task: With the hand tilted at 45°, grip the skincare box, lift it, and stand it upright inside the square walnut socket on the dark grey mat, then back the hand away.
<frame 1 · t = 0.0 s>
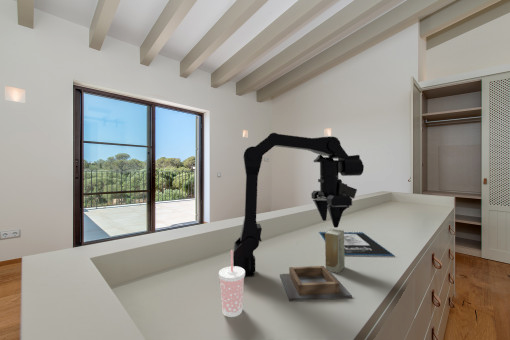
hand: (329, 223, 73), 15 cm above the table, tool pointing down, fingers open, 9 cm apart
skincare box: (335, 269, 73), on the table
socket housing: (312, 285, 62), on the table
sketchbook: (350, 244, 98), on the table
beverage cup: (232, 311, 52), on the table
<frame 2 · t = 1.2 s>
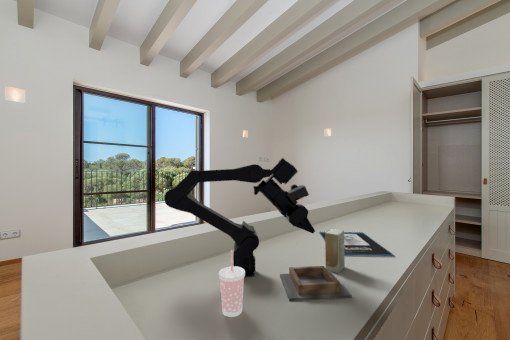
hand: (309, 228, 73), 13 cm above the table, tool tilted 45°, fingers open, 9 cm apart
nothing on the table moved.
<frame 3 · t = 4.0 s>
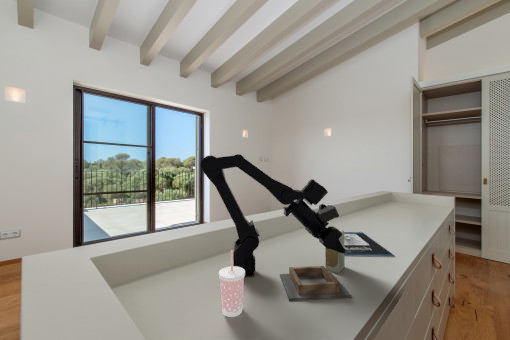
hand: (339, 248, 73), 7 cm above the table, tool tilted 45°, fingers closed on skincare box, 7 cm apart
skincare box: (335, 269, 73), on the table, touching gripper
everything else where it was.
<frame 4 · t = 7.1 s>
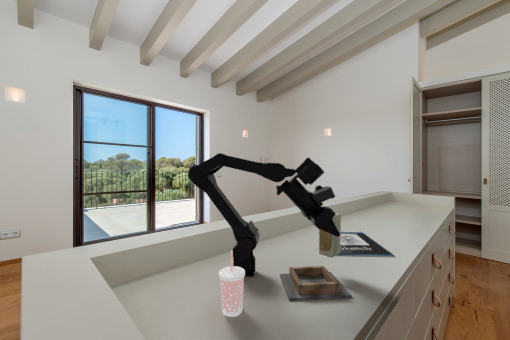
hand: (334, 232, 69), 13 cm above the table, tool tilted 45°, fingers closed on skincare box, 7 cm apart
skincare box: (329, 254, 69), point 6 cm above the table, touching gripper
everything else where it was.
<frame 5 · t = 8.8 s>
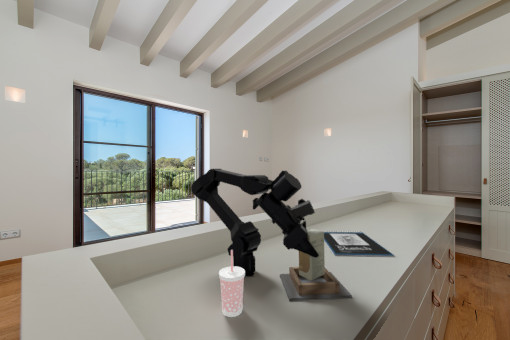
hand: (316, 251, 62), 10 cm above the table, tool tilted 45°, fingers closed on skincare box, 7 cm apart
skincare box: (311, 275, 62), point 3 cm above the table, touching gripper
everything else where it was.
when the fingers open (8 cm above the table, at t = 10.1 s): skincare box stays where it is, resting on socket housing.
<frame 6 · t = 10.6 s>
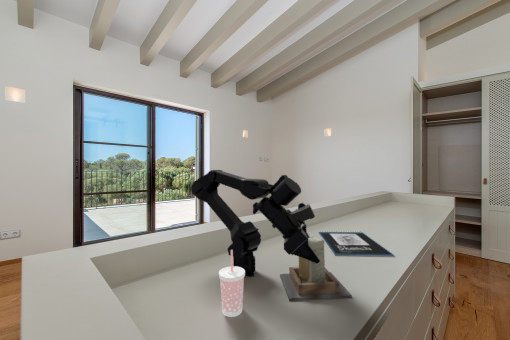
hand: (317, 255, 62), 9 cm above the table, tool tilted 45°, fingers open, 9 cm apart
skincare box: (311, 284, 62), resting on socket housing
everything else where it was.
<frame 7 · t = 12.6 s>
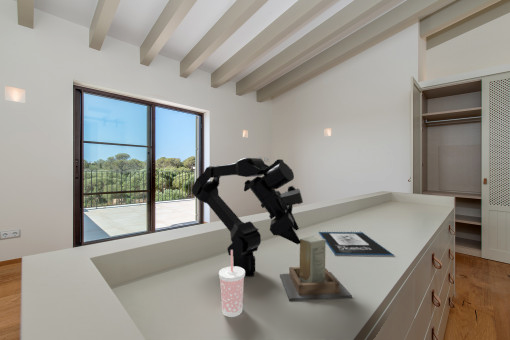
hand: (298, 235, 67), 13 cm above the table, tool tilted 35°, fingers open, 9 cm apart
skincare box: (311, 283, 62), point 1 cm above the table, touching gripper, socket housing
everything else where it was.
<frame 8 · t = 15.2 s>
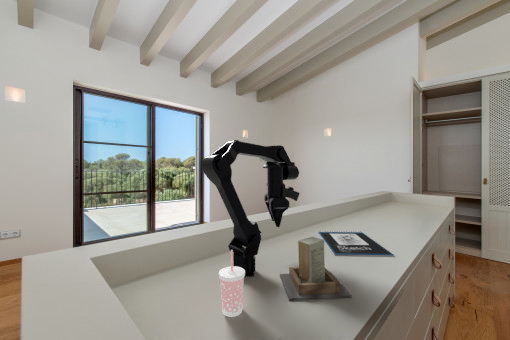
hand: (275, 223, 81), 13 cm above the table, tool pointing down, fingers open, 9 cm apart
skincare box: (311, 284, 62), resting on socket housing
everything else where it was.
at the end: skincare box 0.1 cm off-centre on the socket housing, point 0.4 cm above the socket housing's base; skincare box tilted 0°; the gripper is holding nothing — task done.
